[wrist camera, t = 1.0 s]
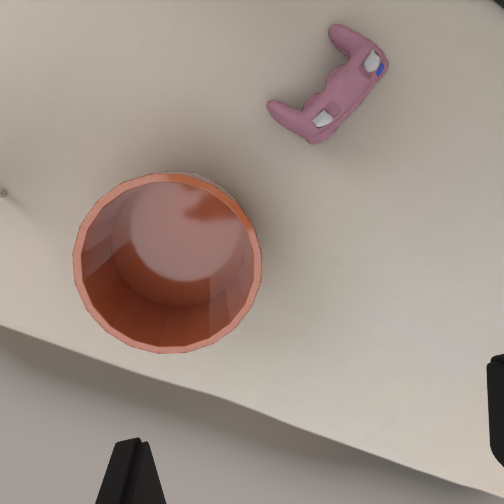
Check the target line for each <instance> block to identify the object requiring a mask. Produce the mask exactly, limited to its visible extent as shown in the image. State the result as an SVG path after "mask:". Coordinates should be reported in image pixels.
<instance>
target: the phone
mask: <svg viewBox="0 0 504 504" xmlns="http://www.w3.org/2000/svg"><path fill="white" fill-rule="evenodd" d="M495 1H496V2H498V3H499V4H500V5H501V6H503V7H504V0H495Z"/></svg>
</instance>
